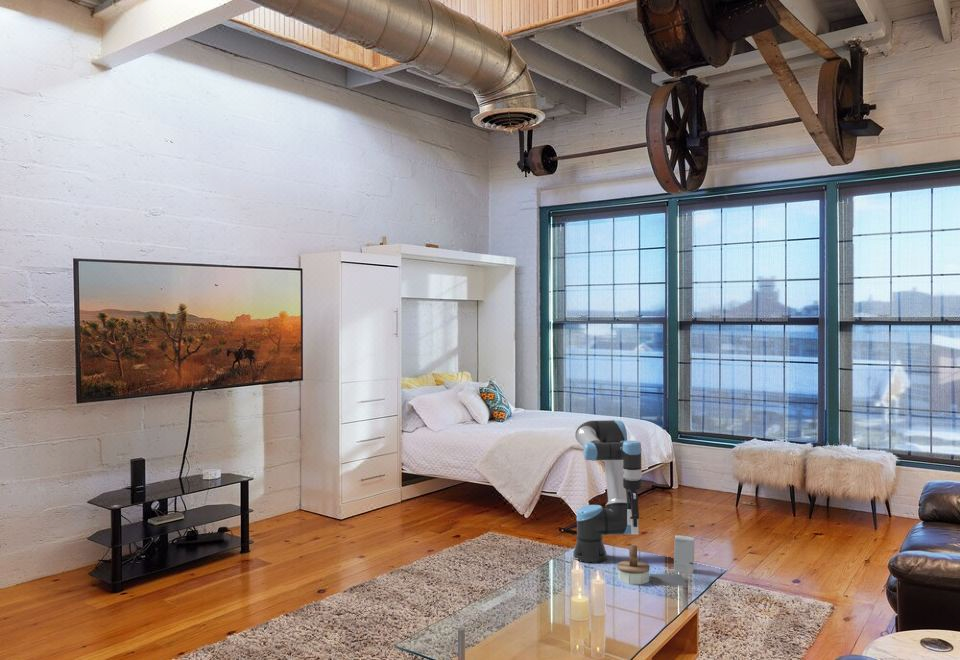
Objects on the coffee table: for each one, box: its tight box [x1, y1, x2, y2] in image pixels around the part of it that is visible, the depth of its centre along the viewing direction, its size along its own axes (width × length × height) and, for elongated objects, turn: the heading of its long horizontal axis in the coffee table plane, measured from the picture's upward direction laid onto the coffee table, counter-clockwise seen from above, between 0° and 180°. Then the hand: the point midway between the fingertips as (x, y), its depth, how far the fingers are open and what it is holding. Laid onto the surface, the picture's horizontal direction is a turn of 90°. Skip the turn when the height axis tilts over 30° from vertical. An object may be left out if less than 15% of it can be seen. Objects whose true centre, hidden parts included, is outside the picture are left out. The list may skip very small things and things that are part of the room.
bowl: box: [617, 568, 650, 585], centre depth 298 cm, size 12×12×5 cm
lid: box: [617, 544, 650, 574], centre depth 298 cm, size 13×13×9 cm
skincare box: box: [673, 534, 695, 574], centre depth 308 cm, size 8×6×15 cm
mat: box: [649, 573, 688, 587], centre depth 297 cm, size 13×13×1 cm
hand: (632, 529), depth 298 cm, fingers open, 13 cm apart
